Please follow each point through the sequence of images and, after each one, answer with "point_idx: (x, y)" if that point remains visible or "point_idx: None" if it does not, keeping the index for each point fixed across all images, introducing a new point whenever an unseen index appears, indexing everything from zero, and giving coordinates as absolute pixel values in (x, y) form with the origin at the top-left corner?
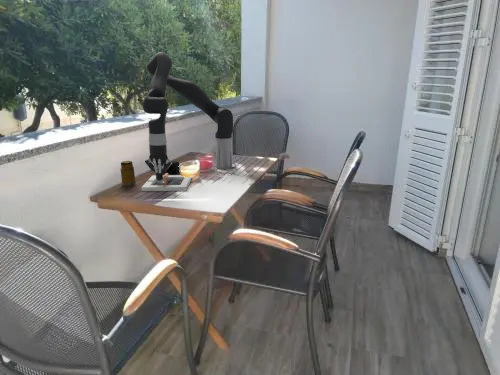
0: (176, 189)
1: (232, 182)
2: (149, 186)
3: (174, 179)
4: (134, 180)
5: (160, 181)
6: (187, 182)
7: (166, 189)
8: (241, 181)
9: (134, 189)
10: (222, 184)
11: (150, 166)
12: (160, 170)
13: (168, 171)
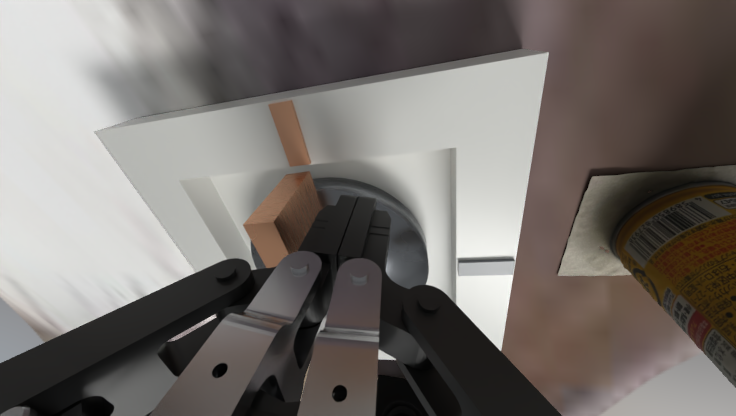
0: (184, 111)
1: (65, 293)
2: (448, 105)
3: None
4: (655, 263)
5: (396, 263)
6: (178, 240)
7: (267, 99)
8: (46, 304)
9: (619, 148)
10: (77, 270)
11: (481, 385)
12: (275, 284)
13: (420, 406)
